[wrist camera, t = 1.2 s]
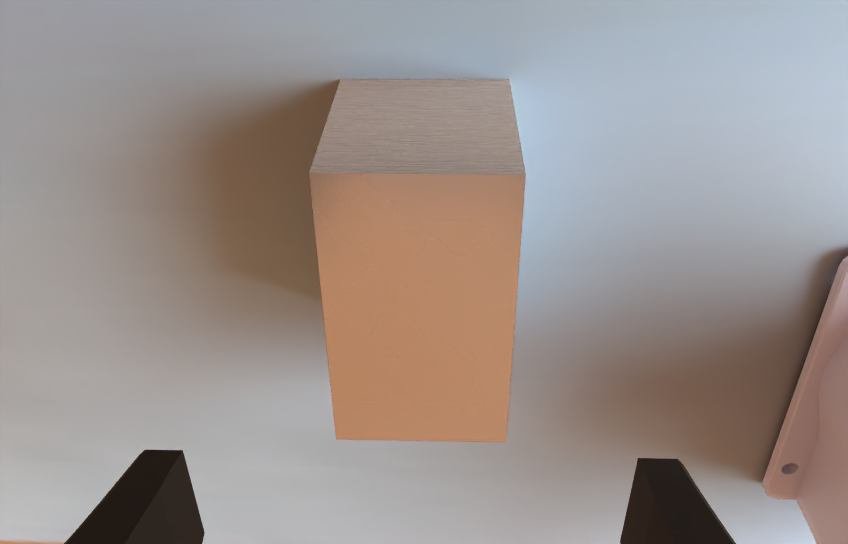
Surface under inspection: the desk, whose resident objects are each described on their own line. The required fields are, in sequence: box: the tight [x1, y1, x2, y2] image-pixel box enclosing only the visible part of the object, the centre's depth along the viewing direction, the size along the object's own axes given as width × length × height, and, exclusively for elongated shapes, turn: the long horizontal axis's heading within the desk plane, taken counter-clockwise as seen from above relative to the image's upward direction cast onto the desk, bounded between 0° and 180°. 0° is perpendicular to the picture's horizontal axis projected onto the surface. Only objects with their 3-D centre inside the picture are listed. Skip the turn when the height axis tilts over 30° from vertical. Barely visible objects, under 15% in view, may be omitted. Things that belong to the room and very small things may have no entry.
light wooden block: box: [309, 79, 526, 442], centre depth 18 cm, size 7×4×5 cm, turn 0°
